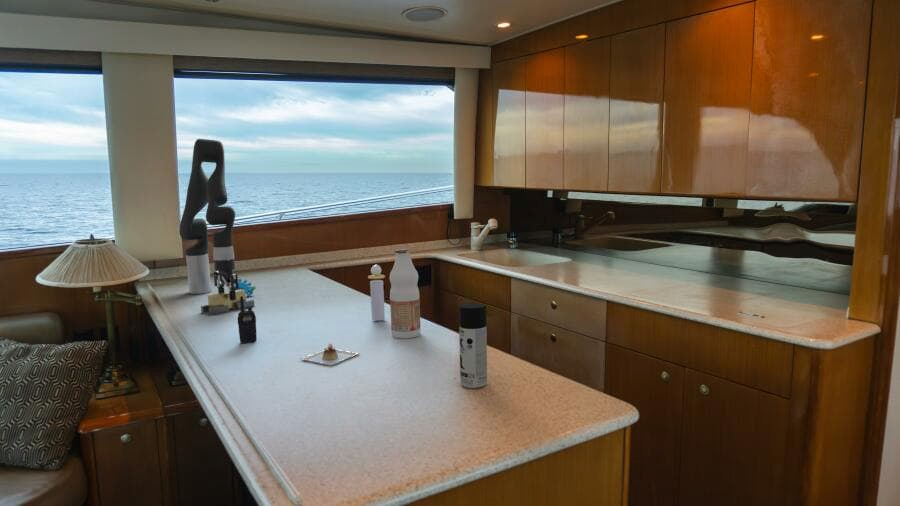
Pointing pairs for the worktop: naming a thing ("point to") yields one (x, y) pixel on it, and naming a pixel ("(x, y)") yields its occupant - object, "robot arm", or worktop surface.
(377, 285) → the perfume bottle
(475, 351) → the spray can
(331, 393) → the worktop surface
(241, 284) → the gear
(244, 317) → the two-way radio
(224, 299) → the link bar
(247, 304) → the grey u-channel block
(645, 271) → the worktop surface
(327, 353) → the dessert
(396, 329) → the fruit juice
